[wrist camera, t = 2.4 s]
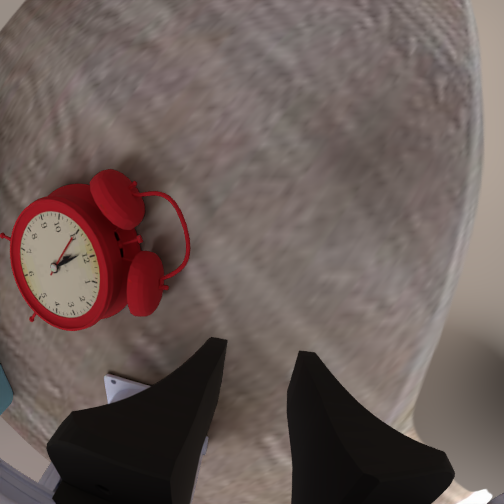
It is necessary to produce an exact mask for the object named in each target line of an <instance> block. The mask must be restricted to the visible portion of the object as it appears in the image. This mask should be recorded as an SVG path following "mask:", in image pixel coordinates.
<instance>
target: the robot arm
mask: <svg viewBox="0 0 504 504" xmlns="http://www.w3.org/2000/svg"><path fill="white" fill-rule="evenodd" d="M226 347H227V340H225V339H220V338H214V337H211V338H209V339H208V340H207V341H206V342H205V343H204V344H203V346H202V347H201V348H200V349H199V350H198V351H197V352H196V353H195V354H194V355H193V356H192V357H190V358H189V359H188V360H187V361H186V362H185V363H184V364H183V365H181V366H180V367H179V368H177V369H176V370H175V371H174V372H172V373H171V374H170V375H168V376H167V377H165V378H164V379H162V380H161V381H159V382H157V383H156V384H154V385H152V386H149V385H145V384H141V383H138V382H134V381H131V380H128V379H124V378H121V377H118V376H115V375H111V374H106V375H105V376H104V382H105V388H106V394H107V399H108V404H106V405H103V406H99V407H94V408H89V409H84V410H78V411H72V412H71V414H70V415H69V416H68V417H67V418H66V419H65V420H64V421H63V422H62V424H61V425H60V426H59V427H58V429H57V430H56V432H55V433H54V435H53V436H52V437H51V439H50V440H49V442H48V443H47V452H48V455H49V457H50V460H51V461H52V462H51V463H50V465H49V466H48V468H47V469H46V471H45V472H44V474H43V476H42V478H41V479H40V480H39V482H38V483H37V482H36V481H34V480H32V479H31V478H29V477H27V476H26V475H24V474H23V473H21V472H20V471H18V470H16V469H15V468H13V467H12V466H10V465H9V464H8V463H6V462H5V461H3V460H2V459H0V504H191V503H192V500H193V496H194V492H195V487H196V483H197V479H198V474H199V470H200V465H201V461H202V456H203V455H205V454H206V450H207V445H208V436H206V435H207V432H208V429H209V426H210V424H211V421H212V418H213V415H214V412H215V408H216V405H217V402H218V397H219V392H220V387H221V382H222V375H223V368H224V361H225V354H226ZM114 380H115V381H116V382H115V381H114ZM287 419H288V428H289V437H290V445H291V454H292V499H291V504H431V503H433V502H434V501H435V500H436V499H437V498H438V497H439V496H440V495H441V494H442V493H443V492H444V491H445V490H446V489H447V488H448V487H449V486H450V484H451V483H452V481H453V479H454V477H455V472H454V470H453V468H452V466H451V463H450V462H449V459H448V458H447V456H446V454H445V452H443V451H440V450H437V449H435V448H432V447H429V446H427V445H424V444H422V443H420V442H417V441H415V440H413V439H411V438H409V437H407V436H405V435H403V434H402V433H400V432H398V431H396V430H395V429H393V428H392V427H390V426H389V425H387V424H386V423H384V422H382V421H381V420H380V419H378V418H377V417H376V416H374V415H373V414H372V413H371V412H369V411H368V410H367V409H366V408H364V407H363V406H362V405H361V404H360V403H359V402H358V401H357V400H356V399H355V398H354V397H353V396H352V395H351V394H350V393H349V392H348V391H347V390H346V389H345V388H344V387H343V386H342V385H341V384H340V383H339V381H338V380H337V379H336V378H335V377H334V376H333V374H332V373H331V372H330V371H329V369H328V368H327V367H326V366H325V364H324V363H323V362H322V361H321V359H320V358H319V357H318V356H317V354H316V353H315V352H307V351H299V353H298V356H297V360H296V363H295V367H294V370H293V374H292V377H291V380H290V384H289V387H288V390H287ZM487 504H504V493H502V494H500V495H499V496H497V497H495V498H494V499H492V500H491V501H490V502H488V503H487Z"/></svg>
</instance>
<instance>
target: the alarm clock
mask: <svg viewBox="0 0 504 504" xmlns="http://www.w3.org/2000/svg"><path fill="white" fill-rule="evenodd" d="M136 185H137V182H136V181H133V182H131V181H130V179H129V178H128V177H126V176H125V175H124V174H122V173H120V172H119V171H116V170H113V169H108V170H103V171H101V172H99V173H98V174H96V175H95V176H94V177H93V178H92V180H91V181H90V185H87V184H70V185H66V186H63V187H60V188H58V189H56V190H55V191H53V192H52V193H51V194H50V195H48V196H47V197H43V198H40V199H38V200H36V201H34V202H33V203H31V204H30V205H29V206H28V207H26V208H25V209H24V210H23V211H22V213H21V214H20V215H19V217H18V219H17V221H16V223H15V225H14V228H13V231H12V235H11V237H8V236H6V235H5V234H4V233H1V234H0V237H1V238H2V239H3V238H6V239H8V240H9V241H11V242H10V259H11V266H12V271H13V275H14V278H15V281H16V284H17V286H18V288H19V290H20V292H21V294H22V296H23V298H24V299H25V301H26V302H27V304H28V305H29V306H30V308H31V309H32V310H33V311H34V314H33V316H31V317H30V318H29V320H30V321H31V322H33V321H34V317H35V316H36V314H37V315H38V316H39V317H40V318H41V319H43V320H44V321H45V322H47V323H48V324H50V325H52V326H54V327H56V328H59V329H62V330H67V331H77V330H82V329H86V328H88V327H91V326H93V325H94V324H96V323H97V322H98V321H99V320H100V319H104V318H108V317H111V316H113V315H115V314H117V313H118V312H120V311H121V310H122V309H123V308H124V307H125V306H126V305H127V304H128V307H129V309H130V312H131V314H133V315H134V316H148V315H150V314H152V313H153V312H154V311H155V310H156V308H157V307H158V305H159V302H160V300H161V298H162V293H163V290H168V289H169V287H168V285H164V280H165V279H168V278H170V277H173V276H174V275H176V274H177V273H179V272H180V271H181V270H182V269H183V268H184V267H185V266H186V264H187V262H188V260H189V256H190V238H189V233H188V229H187V224H186V222H185V219H184V217H183V214H182V212H181V210H180V208H179V207H178V205H177V203H176V202H175V201H174V200H173V199H172V198H171V197H170V196H169V195H167V194H165V193H163V192H158V191H149V192H143V193H139V191H138V189H137V188H136ZM155 195H157V196H161V197H164V198H165V199H167V200H168V201H169V202H170V203H171V204H172V205H173V207H174V208H175V209H176V211H177V214H178V216H179V218H180V221H181V224H182V227H183V230H184V234H185V240H186V254H185V259H184V261H183V263H182V264H181V265H180V266H179V267H178V268H177V269H176V270H174V271H173V272H171V273H169V274H167V275H165V276H164V270H163V265H162V262H161V259H160V258H159V257H158V256H157V254H155V253H153V252H150V251H141V249H140V244H139V243H141V242H143V240H142V237H141V235H138V236H137V233H136V231H135V227H136V226H137V225H138V224H139V223H140V222H141V221H142V219H143V217H144V214H145V205H144V202H143V199H142V197H144V196H155Z"/></svg>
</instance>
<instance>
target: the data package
mask: <svg viewBox="0 0 504 504" xmlns="http://www.w3.org/2000/svg"><path fill="white" fill-rule="evenodd" d="M12 399H13V392H12V389H11V386H10V384H9V382H8V380H7V378H6V375H5V373H4V371H3V369H2V366H1V364H0V415H1V414H2V413H3V412H4V411H5V410H6V408H7V407H8V406H9V405H10V404H11V402H12Z"/></svg>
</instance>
